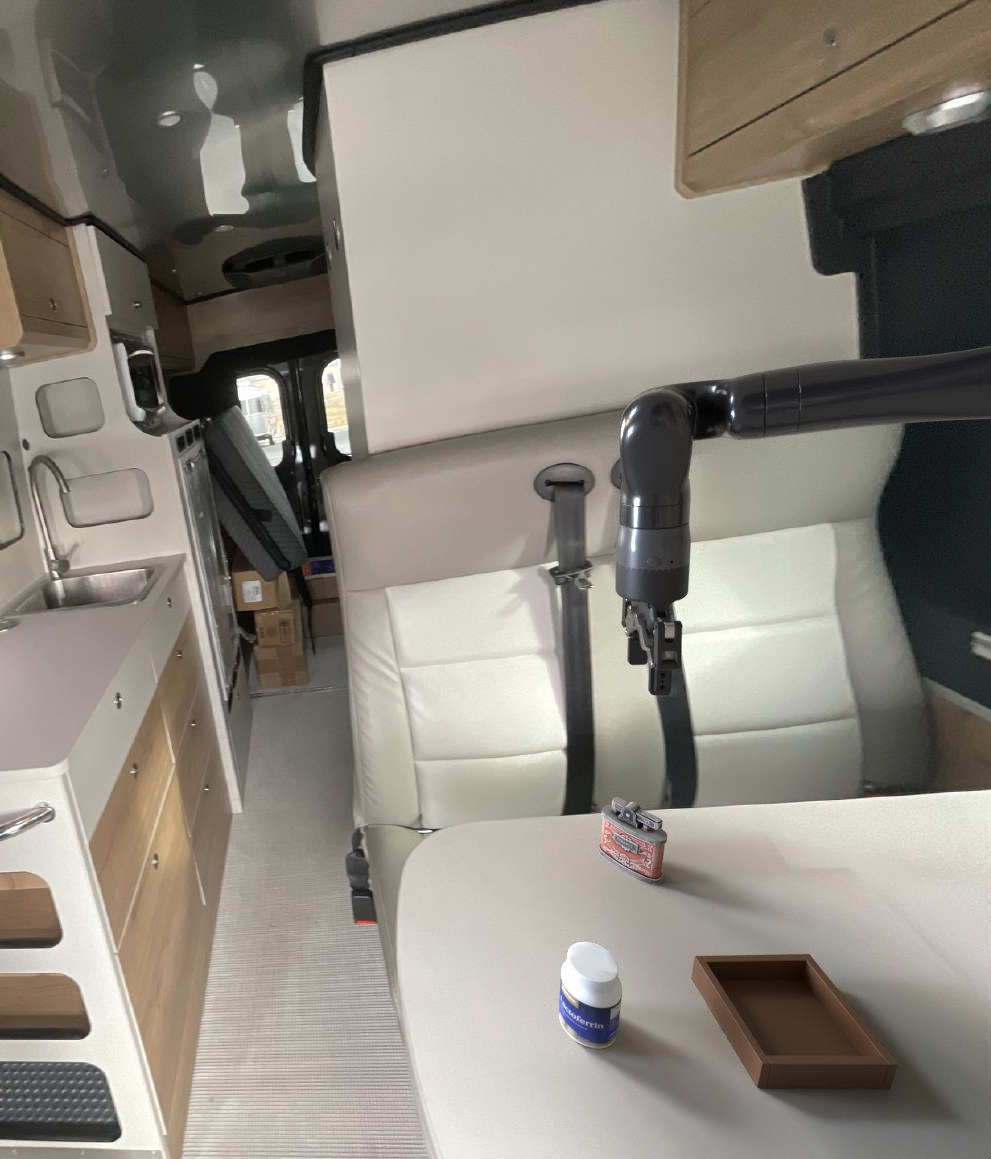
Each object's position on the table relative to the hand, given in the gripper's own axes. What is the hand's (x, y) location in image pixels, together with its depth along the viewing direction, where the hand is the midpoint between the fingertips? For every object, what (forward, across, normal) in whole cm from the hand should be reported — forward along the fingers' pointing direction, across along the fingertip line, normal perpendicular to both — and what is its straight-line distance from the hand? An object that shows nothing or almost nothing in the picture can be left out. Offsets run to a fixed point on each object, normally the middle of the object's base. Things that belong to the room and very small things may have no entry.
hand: (647, 678), depth 85 cm
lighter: (+27, -2, +2) cm, 27 cm away
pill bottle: (+29, -26, +12) cm, 41 cm away
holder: (+29, -24, -6) cm, 38 cm away
